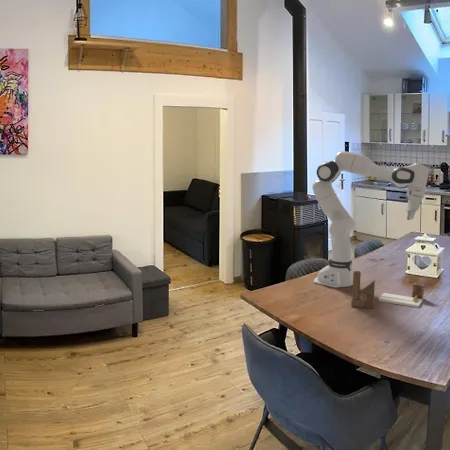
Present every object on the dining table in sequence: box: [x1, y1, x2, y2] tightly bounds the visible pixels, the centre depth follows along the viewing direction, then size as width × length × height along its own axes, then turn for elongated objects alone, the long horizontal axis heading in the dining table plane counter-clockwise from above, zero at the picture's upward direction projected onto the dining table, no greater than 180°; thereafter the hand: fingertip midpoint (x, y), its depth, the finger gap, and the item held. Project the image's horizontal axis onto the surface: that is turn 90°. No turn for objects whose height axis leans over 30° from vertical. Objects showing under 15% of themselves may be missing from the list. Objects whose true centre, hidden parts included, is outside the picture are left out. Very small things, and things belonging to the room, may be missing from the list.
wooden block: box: [350, 270, 376, 310], centre depth 259 cm, size 4×11×18 cm, turn 66°
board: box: [378, 292, 424, 308], centre depth 268 cm, size 20×11×1 cm, turn 59°
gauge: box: [411, 282, 425, 301], centre depth 268 cm, size 5×12×8 cm, turn 149°
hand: (409, 219), depth 272 cm, fingers open, 8 cm apart
